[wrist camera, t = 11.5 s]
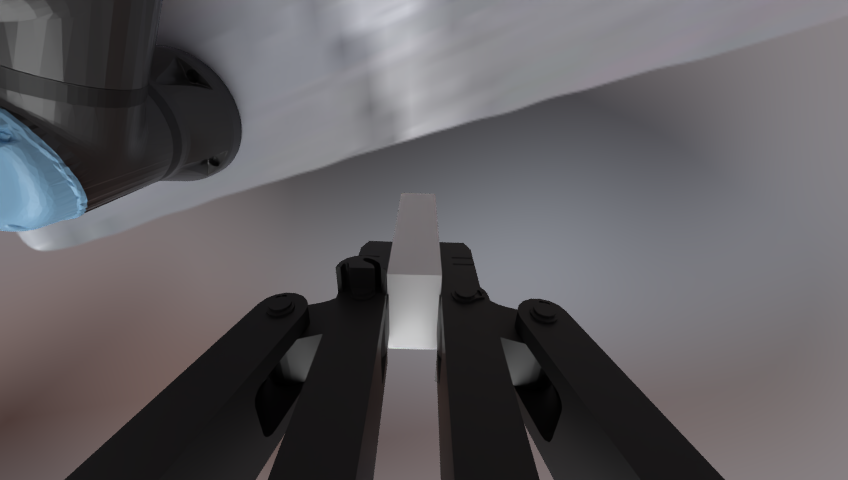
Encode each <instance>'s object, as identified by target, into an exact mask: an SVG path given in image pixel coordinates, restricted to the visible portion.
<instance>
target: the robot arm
mask: <svg viewBox="0 0 848 480" xmlns="http://www.w3.org/2000/svg"><path fill="white" fill-rule="evenodd" d="M161 6H162V0H0V231H28V230H34V229H38V228H41V227H44V226H47V225H50V224H53V223H56V222H59V221H62V220H68V219H74V218H77V217H79V216H81V215H83V214H84V213H86V212H88V211H91V210H93V209H95V208H97V207H100V206H102V205H104V204H107V203H109V202H111V201H114V200H116V199H118V198H120V197H123V196H125V195H127V194H130V193H132V192H134V191H136V190H139V189H141V188H143V187H146V186H148V185H150V184H152V183H155V182H157V181H195V180H200V179H204V178H207V177H209V176H211V175H214V174H216V173H218V172H220V171H221V170H223V169H224V168H226V167H227V166H228V165H229V164H230V163H231V162H232V161H233V159H234V158H235V156H236V154H237V152H238V149H239V146H240V142H241V122H240V117H239V113H238V110H237V107H236V104H235V102H234V100H233V98H232V96H231V94H230V93H229V91H228V89H227V88H226V86H225V85H224V84H223V82H222V81H221V80H220V79H219V77H218V76H217V75H216V74H215V73H214V72H213V71H212V70H211V69H210V68H209V67H207V66H206V65H205V64H204V63H202V62H201V61H200V60H198V59H197V58H195V57H193V56H192V55H190V54H188V53H186V52H183V51H181V50H178V49H175V48H172V47H167V46H159V45H156V38H157V32H158V25H159V19H160V13H161ZM336 274H337V284H338V295H337V297H336V298H335V299H332V300H330V301H326V302H322V303H317V304H311V305H308V303H307V300H306V299H305V298H304V297H303V296H302V295H299V294H296V293H282V294H277V295H274V296H271V297H269V298H266V299H265V300H263V301H262V302H260V303H259V304H258V305H257V306H255V307H254V308H253V309H252V310H251V311H250V312H249V313H248V314H247V315H245V316H244V317H243V318H242V319H241V320H240V321H239V322H238V323H237V324H236V325H234V326H233V327H232V328H231V329H230V330H229V331H228V332H227V333H226V334H225V335H223V336H222V337H221V338H220V339H219V340H218V341H217V342H216V343H215V344H214V345H212V346H211V347H210V348H209V349H208V350H207V351H206V352H205V353H204V354H203V355H201V356H200V357H199V358H198V359H197V360H196V361H195V362H194V363H193V364H191V365H190V366H189V367H188V368H187V369H186V370H185V371H184V372H183V373H182V374H180V375H179V376H178V377H177V378H176V379H175V380H174V381H173V382H172V383H171V384H169V385H168V386H167V387H166V388H165V389H164V390H163V391H162V392H161V393H159V395H157V396H156V397H155V398H154V399H153V400H152V401H151V402H150V403H148V404H147V405H146V406H145V407H144V408H143V409H142V410H141V411H140V412H139V413H137V414H136V416H134V417H133V418H132V419H131V420H130V421H129V422H128V423H126V424H125V425H124V426H123V427H122V428H121V429H120V430H119V431H118V432H117V433H116V434H114V435H113V436H112V437H111V438H110V439H109V440H108V441H107V442H105V443H104V444H103V445H102V446H101V447H100V448H99V449H98V450H97V451H96V452H95V453H93V454H92V455H91V456H90V457H89V458H88V459H87V460H86V461H85V462H83V463H82V464H81V465H80V466H79V467H78V468H77V469H76V470H75V471H74V472H72V473H71V474H70V475H69V476H68V477H67V478H66V479H65V480H256V478H257V477H258V475H259V473H260V471H261V470H262V469H263V467H264V466H265V464H266V462H267V461H268V459H269V457H270V456H271V454H272V453H273V451H274V450H275V448H276V446H277V445H278V443H279V442H280V440H281V439H282V437H283V436H284V438H283V440H282V443H281V446H280V448H279V451H278V454H277V456H276V459H275V462H274V464H273V467H272V470H271V472H270V475H269V478H268V480H373V478H374V469H375V461H376V453H377V445H378V436H379V428H380V419H381V412H382V403H383V395H384V387H385V378H386V370H387V347H388V348H395V349H396V348H397V349H434V350H436V349H437V361H436V376H435V381H437V393H438V418H439V446H440V472H441V480H539V476H538V472H537V469H536V465H535V462H534V458H533V454H532V451H531V447H530V444H529V440H528V437H527V433H526V429H525V426H526V428H527V430H528V432H529V434H530V435H531V437H532V439H533V441H534V443H535V445H536V447H537V449H538V450H539V452H540V454H541V456H542V458H543V460H544V462H545V464H546V465H547V467H548V469H549V471H550V473H551V475H552V477H553V479H554V480H725V479H724V478H723V477H722V476H721V475H720V474H719V473H718V472H717V471H716V470H715V469H714V468H713V467H712V466H711V465H710V464H709V462H707V460H706V459H705V458H704V457H703V456H702V455H701V454H700V453H699V452H698V451H697V450H696V449H695V448H694V447H693V445H692V444H691V443H690V442H689V441H688V440H687V439H686V438H685V437H684V436H683V435H682V434H681V433H680V432H679V431H678V430H677V429H676V427H675V426H674V425H673V424H672V423H671V422H670V421H669V420H668V419H667V418H666V417H665V416H664V415H663V414H662V413H661V411H660V410H659V409H658V408H657V407H656V406H655V405H654V404H653V403H652V402H651V401H650V400H649V399H648V398H647V397H646V396H645V395H644V393H643V392H642V391H641V390H640V389H639V388H638V387H637V386H636V385H635V384H634V383H633V382H632V381H631V380H630V379H629V378H628V377H627V376H626V374H625V373H624V372H623V371H622V370H621V369H620V368H619V367H618V366H617V365H616V364H615V363H614V362H613V361H612V360H611V358H610V357H609V356H608V355H607V354H606V353H605V352H604V351H603V350H602V349H601V348H600V347H599V346H598V345H597V344H596V343H595V342H594V340H593V339H592V338H591V337H590V336H589V335H588V334H587V333H586V332H585V331H584V330H583V329H582V328H581V327H580V326H579V325H578V323H577V322H576V321H575V320H574V319H573V318H572V317H571V316H570V315H569V314H568V313H567V312H566V311H565V310H564V309H562V308H561V307H560V306H559V305H556V304H555V303H552V302H550V301H546V300H542V299H529V300H525V301H523V302H522V303H521V304H520V305H519V307H518V310H517V309H512V308H508V307H504V306H501V305H498V304H496V303H494V302H492V301H490V300H489V296H488V295H487V293H486V292H485V290H483V289H482V288H481V287H480V285H479V281H478V277H477V273H476V269H475V266H474V261H473V259H472V253H471V250H470V249H469V248H468V247H467V246H466V245H465V244H464V243H445V242H444V243H443V242H439V235H438V222H437V211H436V199H435V194H416V193H401V199H400V204H399V210H398V216H397V221H396V226H395V233H394V237H393V242H383V241H369V242H368V243H366V244H365V245H364V246H363V247H361V250H360V253H359V256H354V257H350V258H347V259H345V260H343V261H341V262H340V263H339V264H338V265H337V266H336ZM524 424H525V426H524ZM284 434H285V435H284Z"/></svg>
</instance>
